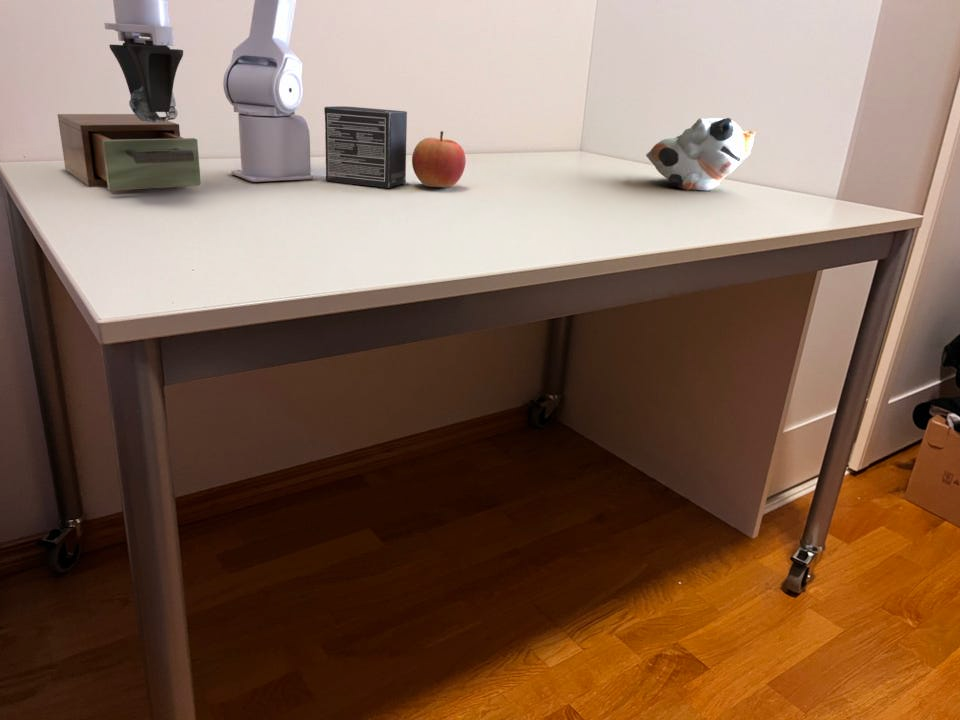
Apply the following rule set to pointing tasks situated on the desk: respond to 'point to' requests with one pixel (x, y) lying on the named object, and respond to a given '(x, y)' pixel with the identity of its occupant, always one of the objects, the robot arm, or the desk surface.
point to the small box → (365, 146)
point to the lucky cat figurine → (702, 153)
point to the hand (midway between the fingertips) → (151, 109)
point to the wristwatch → (142, 110)
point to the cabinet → (79, 125)
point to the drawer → (144, 159)
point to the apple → (438, 162)
